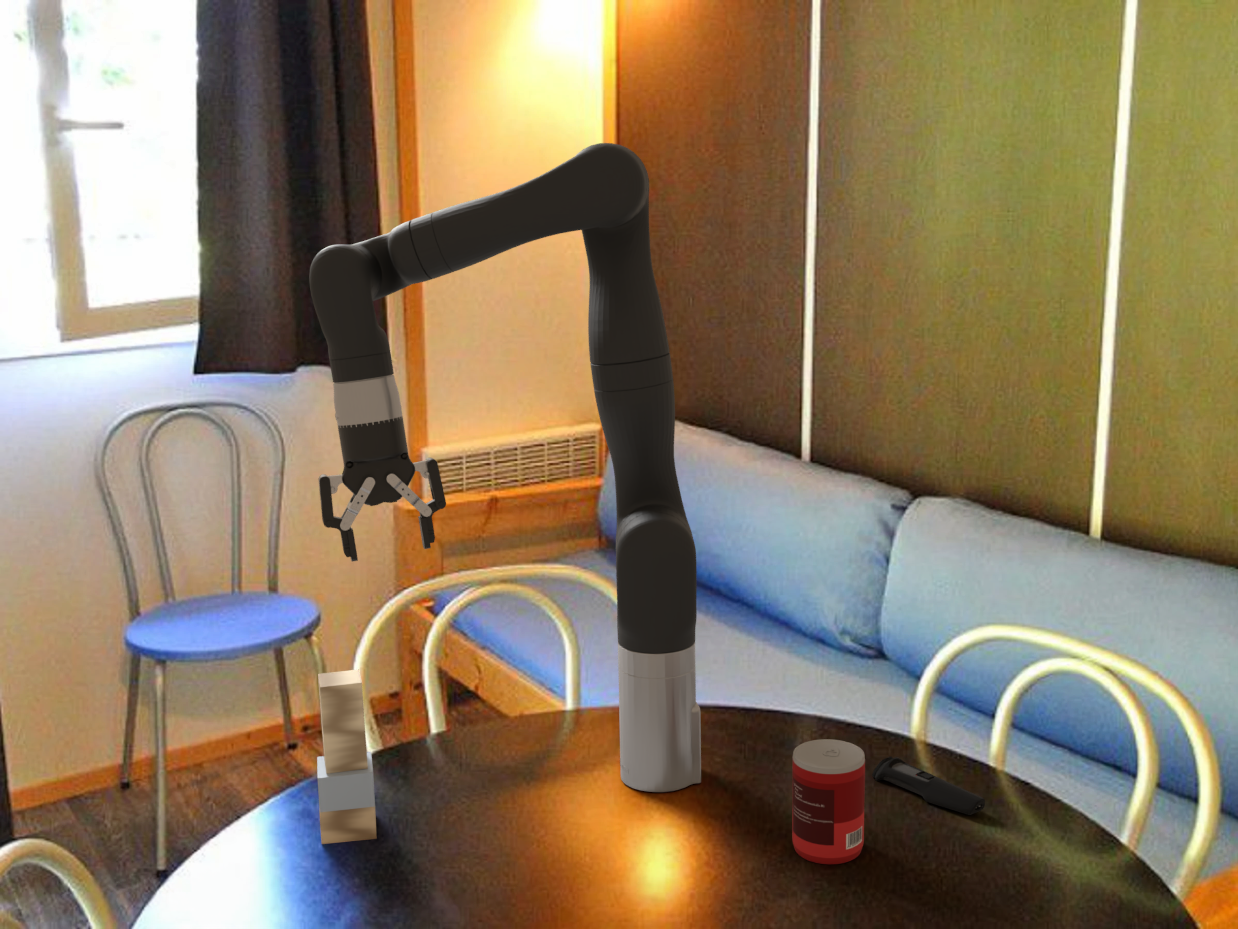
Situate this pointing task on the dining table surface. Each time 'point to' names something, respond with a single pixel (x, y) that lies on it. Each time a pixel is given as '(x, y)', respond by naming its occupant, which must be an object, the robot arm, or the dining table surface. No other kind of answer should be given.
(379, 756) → the dining table surface
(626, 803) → the dining table surface
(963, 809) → the electric trimmer
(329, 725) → the maple block
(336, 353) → the robot arm
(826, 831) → the canned food
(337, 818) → the tower base
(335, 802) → the tower mid
